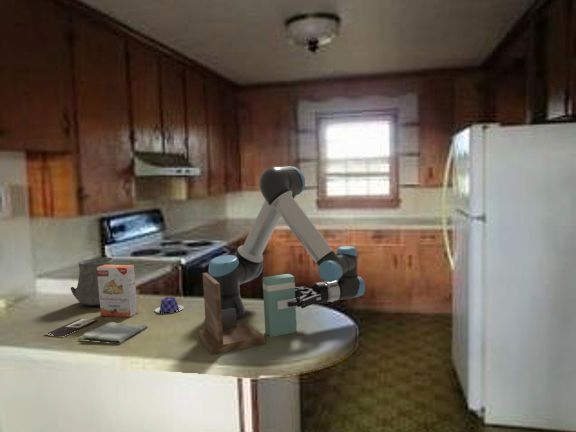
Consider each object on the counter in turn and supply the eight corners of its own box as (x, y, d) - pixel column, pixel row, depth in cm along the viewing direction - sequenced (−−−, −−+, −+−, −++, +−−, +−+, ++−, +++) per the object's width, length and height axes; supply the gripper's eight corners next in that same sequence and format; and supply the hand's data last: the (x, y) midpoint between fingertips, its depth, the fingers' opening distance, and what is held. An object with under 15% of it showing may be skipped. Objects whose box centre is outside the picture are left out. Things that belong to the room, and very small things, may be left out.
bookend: (234, 325, 168) (233, 306, 168) (236, 327, 166) (235, 308, 165) (209, 329, 165) (208, 310, 164) (211, 331, 163) (210, 312, 162)
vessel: (80, 314, 199) (76, 267, 197) (69, 303, 217) (65, 260, 215) (131, 303, 212) (128, 259, 210) (116, 294, 230) (113, 253, 227)
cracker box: (100, 316, 194) (95, 267, 192) (108, 312, 200) (104, 264, 198) (130, 318, 191) (126, 267, 188) (138, 313, 196) (134, 264, 194)
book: (265, 332, 167) (262, 277, 165) (291, 327, 171) (288, 273, 169) (270, 336, 162) (267, 280, 160) (296, 331, 166) (294, 276, 164)
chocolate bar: (44, 334, 174) (79, 318, 191) (44, 337, 174) (79, 321, 191) (63, 336, 171) (97, 320, 188) (63, 338, 171) (97, 322, 188)
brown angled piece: (248, 327, 172) (244, 267, 170) (264, 344, 156) (261, 277, 154) (199, 336, 166) (195, 274, 163) (211, 354, 149) (207, 285, 147)
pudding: (154, 308, 203) (153, 296, 203) (182, 304, 207) (181, 293, 207) (155, 316, 192) (155, 304, 192) (185, 312, 196) (184, 300, 195)
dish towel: (149, 328, 178) (148, 320, 178) (120, 346, 161) (119, 337, 161) (108, 326, 184) (107, 318, 183) (75, 342, 166) (74, 334, 166)
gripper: (341, 310, 161) (284, 321, 153) (310, 293, 184) (259, 302, 176) (341, 289, 160) (283, 298, 152) (309, 275, 183) (258, 282, 175)
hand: (270, 300), depth 164 cm, fingers open, 13 cm apart
